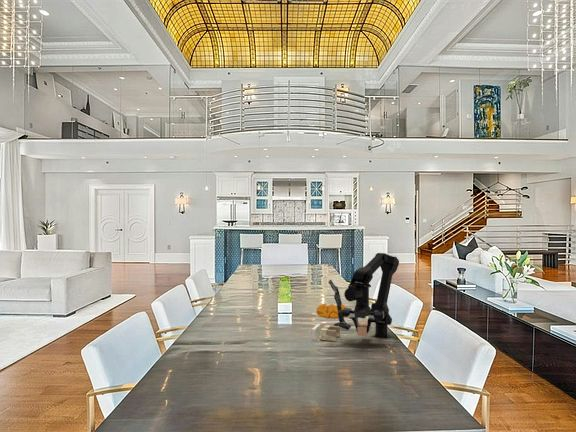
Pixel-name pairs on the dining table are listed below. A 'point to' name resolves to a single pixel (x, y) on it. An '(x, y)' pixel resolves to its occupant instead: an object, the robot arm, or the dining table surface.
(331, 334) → the block
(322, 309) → the decorative ornament
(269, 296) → the dining table surface
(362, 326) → the peg
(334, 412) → the dining table surface
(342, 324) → the statue
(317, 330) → the backstop
